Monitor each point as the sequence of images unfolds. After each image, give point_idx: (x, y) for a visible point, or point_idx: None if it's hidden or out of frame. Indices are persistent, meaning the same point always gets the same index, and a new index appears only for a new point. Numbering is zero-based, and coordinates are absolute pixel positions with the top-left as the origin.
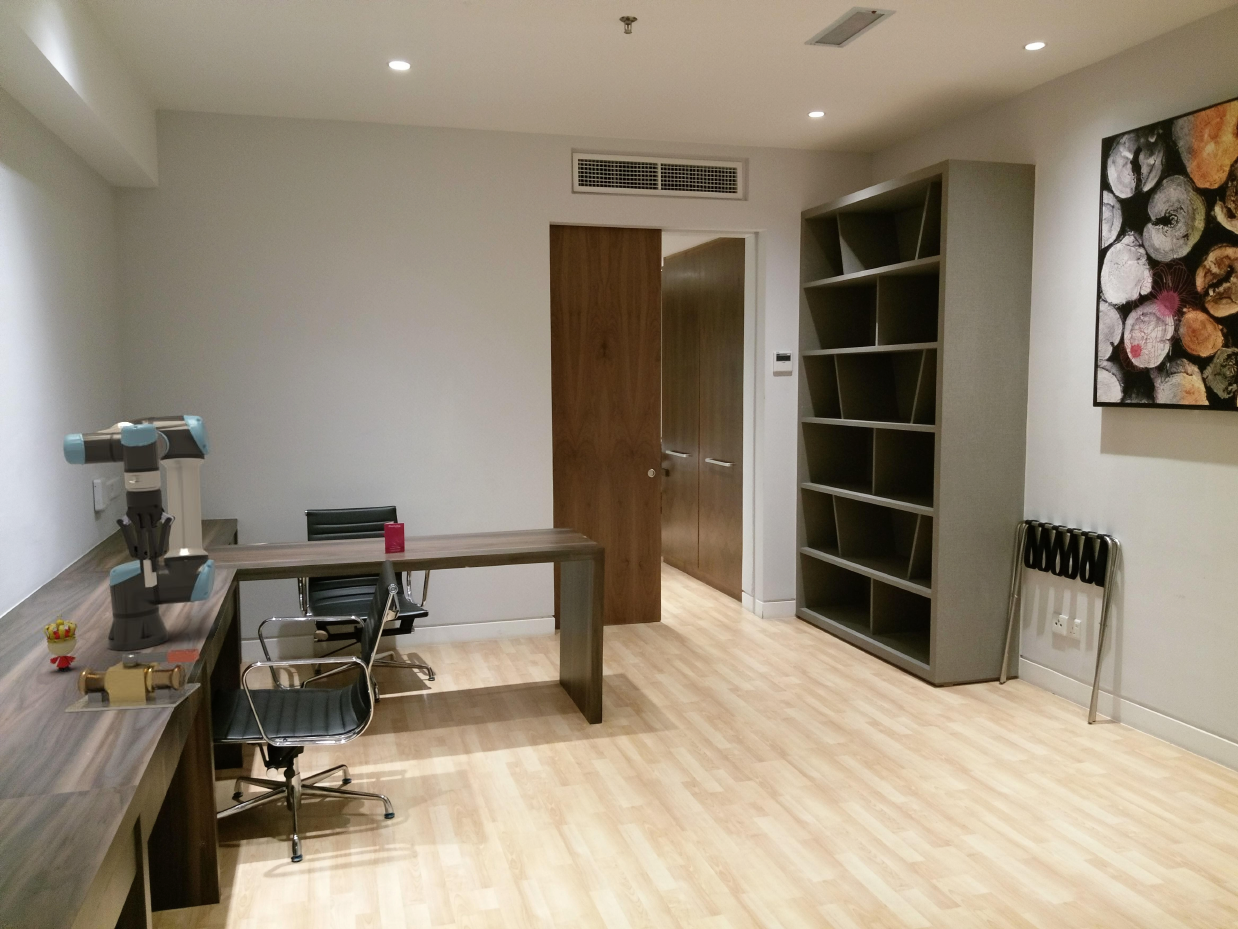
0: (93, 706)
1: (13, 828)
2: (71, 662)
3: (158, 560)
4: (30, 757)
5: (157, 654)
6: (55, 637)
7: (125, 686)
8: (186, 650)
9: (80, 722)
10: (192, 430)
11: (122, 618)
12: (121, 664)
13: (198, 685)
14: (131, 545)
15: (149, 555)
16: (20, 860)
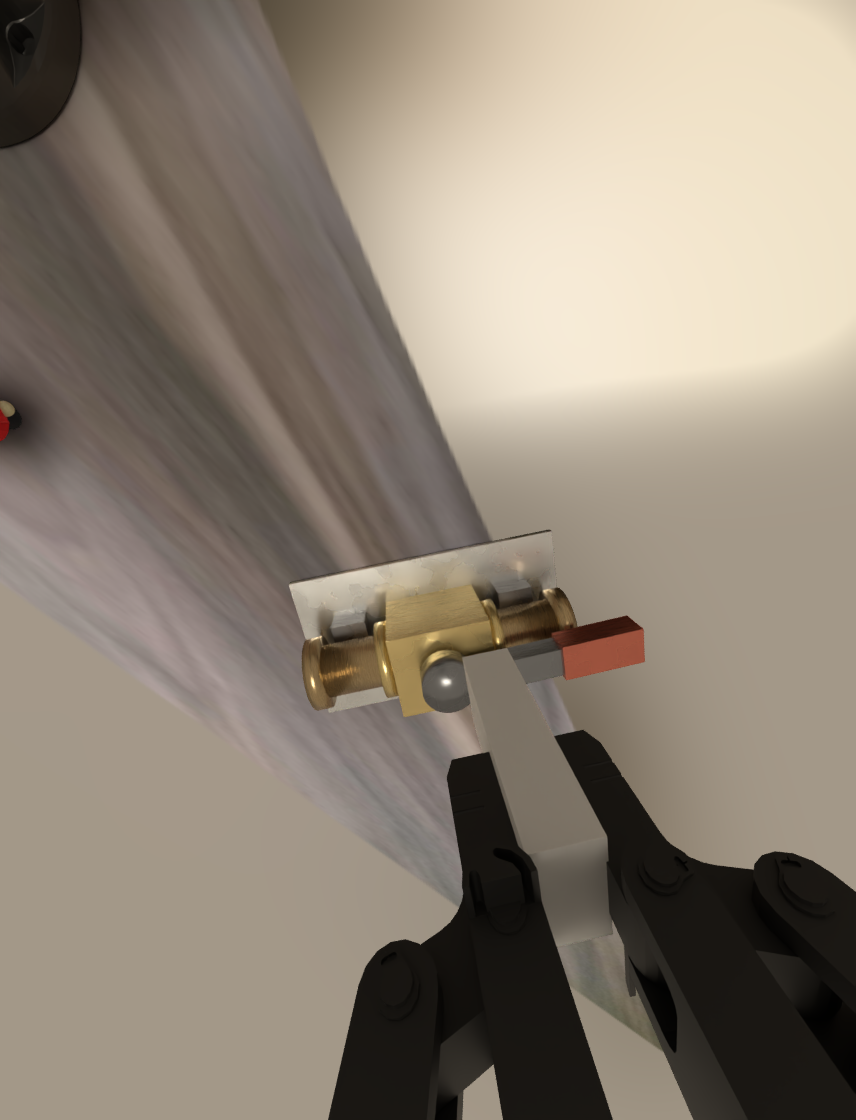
0: (381, 691)
1: (568, 982)
2: (7, 419)
3: (653, 828)
4: (436, 863)
5: (532, 678)
6: None
7: None
8: (612, 647)
9: (409, 746)
10: None
11: None
12: (407, 669)
13: (551, 541)
14: None
15: (644, 1006)
16: (620, 1012)
